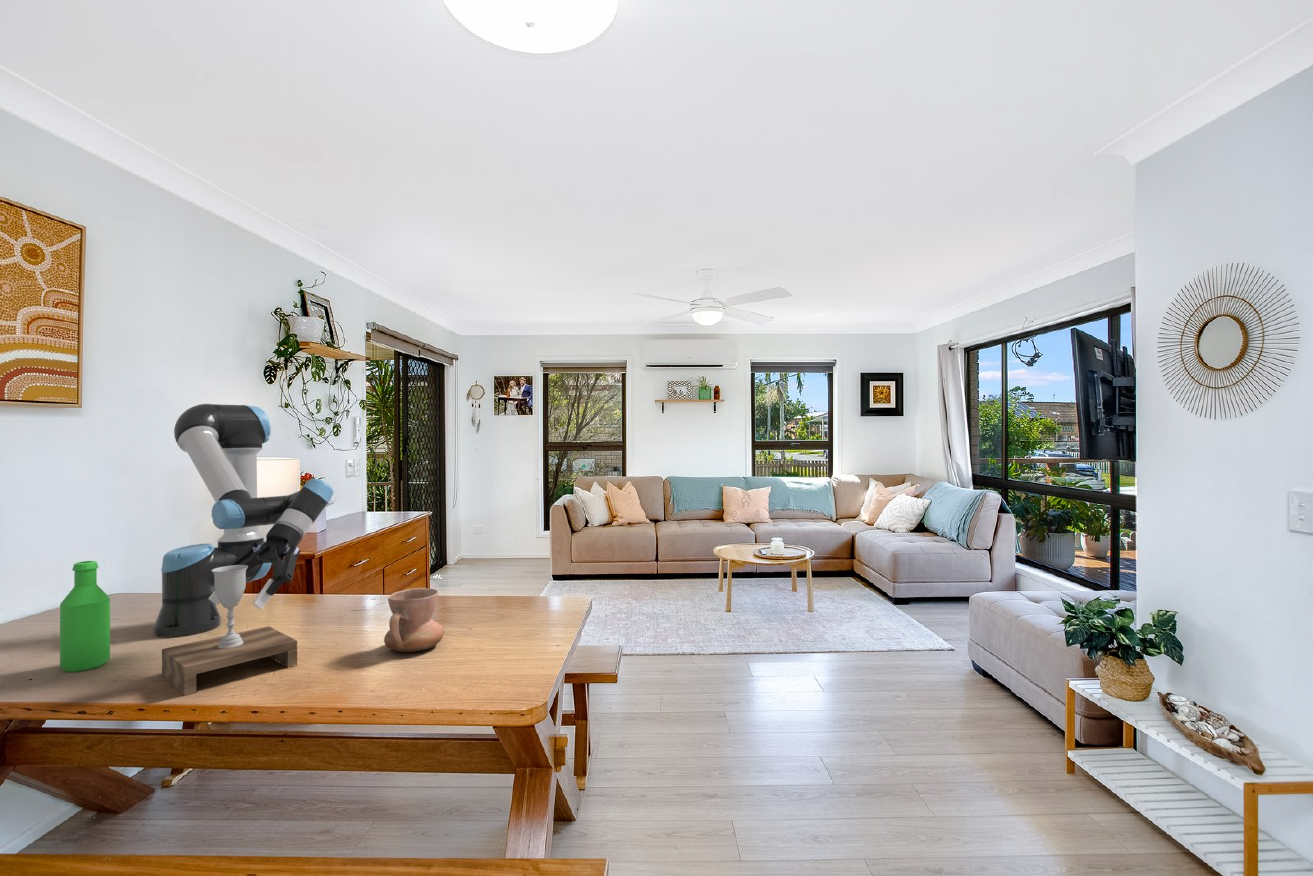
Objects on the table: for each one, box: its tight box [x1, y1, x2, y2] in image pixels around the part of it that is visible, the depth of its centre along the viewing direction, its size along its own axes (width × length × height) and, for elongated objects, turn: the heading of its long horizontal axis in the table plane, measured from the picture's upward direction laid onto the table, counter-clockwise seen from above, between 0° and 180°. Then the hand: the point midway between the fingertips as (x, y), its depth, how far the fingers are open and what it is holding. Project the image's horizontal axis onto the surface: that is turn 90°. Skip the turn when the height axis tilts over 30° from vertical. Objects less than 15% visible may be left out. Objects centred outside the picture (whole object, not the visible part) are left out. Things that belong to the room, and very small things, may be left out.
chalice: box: [212, 565, 248, 648], centre depth 144 cm, size 7×7×18 cm
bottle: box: [59, 560, 111, 673], centre depth 147 cm, size 9×9×25 cm
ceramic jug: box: [383, 587, 445, 653], centre depth 160 cm, size 18×14×14 cm
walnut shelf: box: [161, 625, 298, 696], centre depth 144 cm, size 18×22×6 cm
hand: (234, 604), depth 145 cm, fingers open, 13 cm apart
